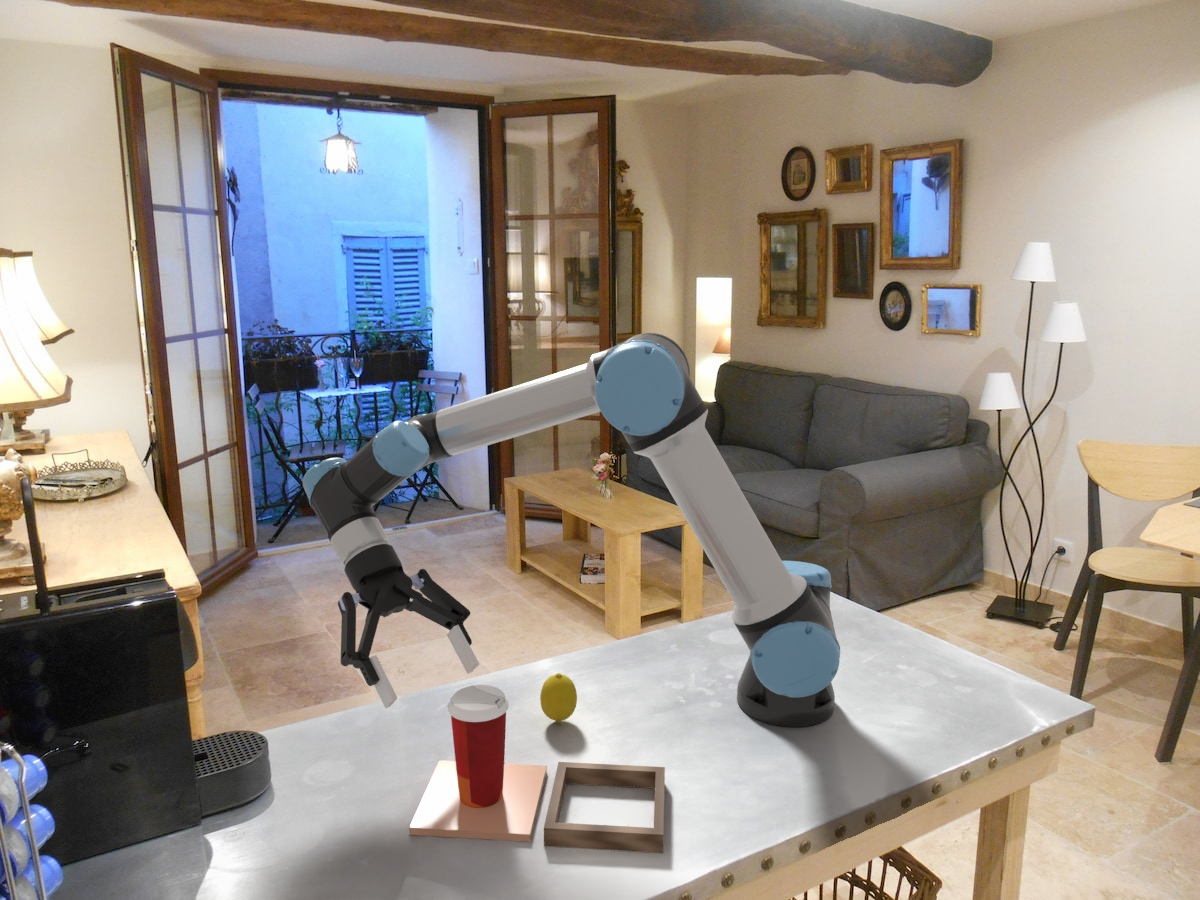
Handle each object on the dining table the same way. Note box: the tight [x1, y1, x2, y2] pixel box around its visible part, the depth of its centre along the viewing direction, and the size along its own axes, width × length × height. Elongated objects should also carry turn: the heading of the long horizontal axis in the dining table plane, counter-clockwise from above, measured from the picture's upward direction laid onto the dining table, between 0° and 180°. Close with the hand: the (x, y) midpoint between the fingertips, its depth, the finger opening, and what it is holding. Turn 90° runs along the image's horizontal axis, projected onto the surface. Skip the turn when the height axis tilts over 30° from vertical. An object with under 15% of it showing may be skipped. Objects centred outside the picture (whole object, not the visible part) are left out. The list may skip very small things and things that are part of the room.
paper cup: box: [446, 684, 510, 808], centre depth 119 cm, size 8×8×14 cm
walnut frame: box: [543, 761, 666, 854], centre depth 118 cm, size 14×14×2 cm
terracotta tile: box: [408, 759, 548, 842], centre depth 120 cm, size 15×15×1 cm
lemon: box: [539, 672, 578, 723], centre depth 139 cm, size 6×6×8 cm
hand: (434, 685), depth 126 cm, fingers open, 13 cm apart
